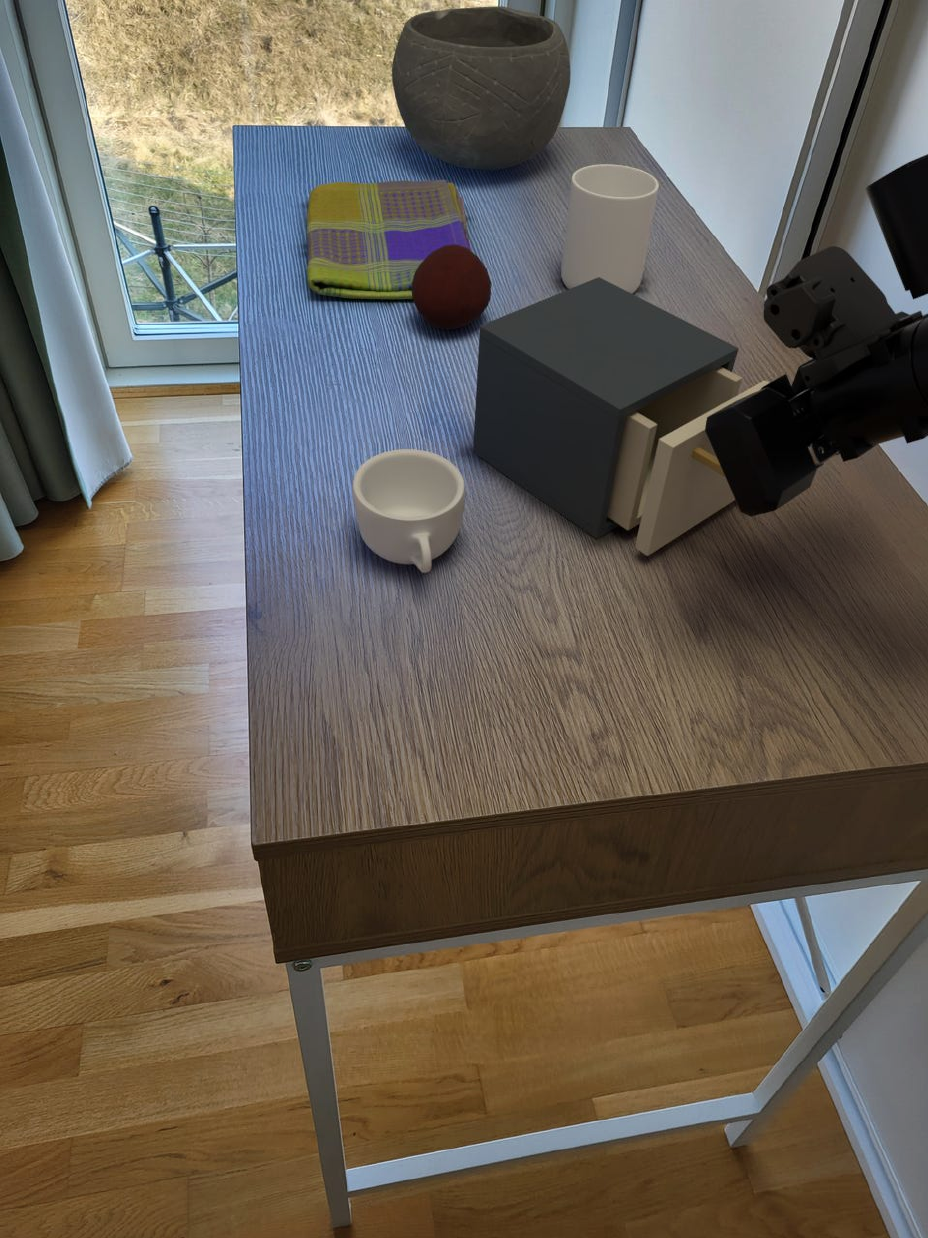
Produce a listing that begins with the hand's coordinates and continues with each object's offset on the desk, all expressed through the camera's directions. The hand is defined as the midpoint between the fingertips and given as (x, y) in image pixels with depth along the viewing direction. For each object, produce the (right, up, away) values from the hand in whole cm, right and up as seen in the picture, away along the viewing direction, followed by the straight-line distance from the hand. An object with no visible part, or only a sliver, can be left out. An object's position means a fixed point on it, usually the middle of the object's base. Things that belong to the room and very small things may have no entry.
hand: (728, 444), depth 64 cm
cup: (-3, +24, +35) cm, 42 cm away
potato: (-19, +16, +27) cm, 37 cm away
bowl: (-16, +46, +55) cm, 73 cm away
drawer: (-3, -3, +8) cm, 9 cm away
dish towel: (-26, +28, +37) cm, 53 cm away
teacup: (-22, -7, +4) cm, 23 cm away
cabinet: (-8, +1, +12) cm, 14 cm away
